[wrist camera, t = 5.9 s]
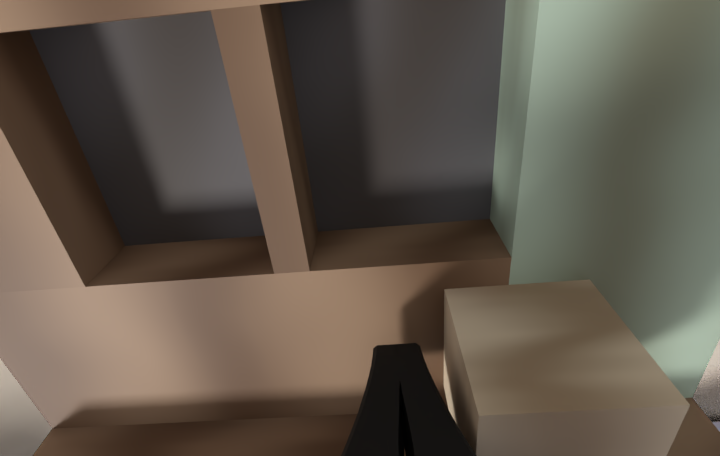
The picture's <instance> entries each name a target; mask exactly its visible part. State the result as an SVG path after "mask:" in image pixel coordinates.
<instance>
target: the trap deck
mask: <svg viewBox="0 0 720 456" xmlns="http://www.w3.org/2000/svg"><path fill="white" fill-rule="evenodd" d="M589 279H590V281H591V282H592V283H593V284H594V286H595V287H596V288H597V289H598V291H599V292H600V293H601V294H602V296H603V297H604V298H605V299H606V301H607V302H608V303H609V304H610V306H611V307H612V308H613V309H614V311H615V312H616V313H617V314H618V316H619V317H620V318H621V319H622V321H623V322H624V323H625V324H626V326H627V327H628V328H629V329H630V331H631V332H632V333H633V334H634V336H635V337H636V338H637V339H638V341H639V342H640V343H641V344H642V346H643V347H644V348H645V349H646V351H647V352H648V353H649V354H650V356H651V357H652V358H653V359H654V361H655V362H656V363H657V364H658V366H659V367H660V368H661V369H662V371H663V372H664V373H665V374H666V376H667V377H668V378H669V379H670V381H671V382H672V383H673V384H674V386H675V387H676V388H677V389H678V391H679V392H680V393H681V394H682V396H683V397H684V398H685V399H686V401H687V402H688V403H689V404H690V406H689V409H688V411H687V413H686V415H685V417H684V419H683V421H682V424H681V426H680V428H679V430H678V432H677V434H676V437H675V439H674V441H673V443H672V445H671V447H670V449H669V452H668V454H667V456H720V431H719V430H718V429H717V428H716V427H715V425H714V424H713V423H712V422H711V420H710V419H709V418H708V417H707V416H706V414H705V413H704V412H703V411H702V409H701V408H700V407H699V406H698V404H697V403H696V402H695V401H694V400H693V398H692V397H693V395H694V392H695V390H696V388H697V386H698V384H699V382H700V380H701V377H702V375H703V373H704V371H705V369H706V367H707V365H708V362H709V360H710V358H711V356H712V354H713V352H714V350H715V347H716V345H717V343H718V341H719V339H720V0H0V358H1V360H2V361H3V363H4V364H5V365H6V367H7V368H8V369H9V371H10V372H11V373H12V375H13V376H14V377H15V379H16V380H17V381H18V383H19V384H20V385H21V387H22V388H23V389H24V391H25V392H26V394H27V395H28V396H29V398H30V399H31V400H32V402H33V403H34V404H35V406H36V407H37V408H38V410H39V411H40V412H41V414H42V415H43V416H44V418H45V419H46V420H47V422H48V423H49V425H50V426H51V427H52V430H51V431H50V433H49V434H48V435H47V437H46V438H45V440H44V441H43V442H42V444H41V445H40V446H39V448H38V449H37V451H36V452H35V453H34V455H33V456H341V454H342V452H343V450H344V447H345V445H346V443H347V440H348V437H349V435H350V432H351V430H352V427H353V424H354V422H355V419H356V416H357V414H358V411H359V408H360V404H361V401H362V398H363V395H364V392H365V388H366V385H367V381H368V377H369V373H370V368H371V363H372V357H373V348H374V347H375V346H377V345H390V344H407V343H417V344H418V345H420V347H421V351H422V354H423V357H424V360H425V362H426V365H427V367H428V370H429V372H430V374H431V376H432V379H433V381H434V383H435V385H436V387H437V389H438V391H439V393H440V395H441V397H442V399H443V401H444V402H445V404H446V406H447V408H448V405H447V400H446V395H445V390H444V289H455V288H470V287H485V286H500V285H514V284H529V283H544V282H559V281H574V280H589ZM404 456H406V454H405V448H404Z"/></svg>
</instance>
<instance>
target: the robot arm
mask: <svg viewBox="0 0 720 456" xmlns="http://www.w3.org/2000/svg"><path fill="white" fill-rule="evenodd" d="M712 423H713V424H714V425H715V427H716V428H717V429H718V430H719V431H720V421H717V422H712ZM404 448H405V454H406V456H477V455H476V454H475V452H474V451H473V449H472V448H471V446H470V445H469V443H468V442H467V440H466V439H465V437H464V435H463V434H462V432H461V430H460V429H459V427H458V425H457V424H456V422H455V420H454V419H453V417H452V415H451V413H450V412H449V410H448V408H447V406H446V404H445V402H444V401H443V399H442V397H441V395H440V393H439V391H438V389H437V387H436V385H435V383H434V381H433V379H432V376H431V374H430V372H429V370H428V367H427V365H426V362H425V360H424V357H423V354H422V351H421V347H420V345H418V344H417V343H407V344H390V345H377V346H375V347H374V348H373V357H372V363H371V368H370V373H369V377H368V381H367V385H366V388H365V392H364V395H363V398H362V401H361V404H360V408H359V411H358V414H357V416H356V419H355V422H354V424H353V427H352V430H351V432H350V435H349V437H348V440H347V443H346V445H345V447H344V450H343V452H342V454H341V456H404Z"/></svg>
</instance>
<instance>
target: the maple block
mask: <svg viewBox="0 0 720 456" xmlns="http://www.w3.org/2000/svg"><path fill="white" fill-rule="evenodd" d="M444 390H445V395H446V400H447V405H448V410H449V412H450V413H451V415H452V417H453V419H454V420H455V422H456V424H457V425H458V427H459V429H460V430H461V432H462V434H463V435H464V437H465V439H466V440H467V442H468V443H469V445H470V446H471V448H472V449H473V451H474V452H475V454H476V455H477V456H667V454H668V452H669V449H670V447H671V445H672V443H673V441H674V439H675V437H676V434H677V432H678V430H679V428H680V426H681V424H682V421H683V419H684V417H685V415H686V413H687V411H688V409H689V406H690V404H689V403H688V402H687V401H686V399H685V398H684V397H683V396H682V394H681V393H680V392H679V391H678V389H677V388H676V387H675V386H674V384H673V383H672V382H671V381H670V379H669V378H668V377H667V376H666V374H665V373H664V372H663V371H662V369H661V368H660V367H659V366H658V364H657V363H656V362H655V361H654V359H653V358H652V357H651V356H650V354H649V353H648V352H647V351H646V349H645V348H644V347H643V346H642V344H641V343H640V342H639V341H638V339H637V338H636V337H635V336H634V334H633V333H632V332H631V331H630V329H629V328H628V327H627V326H626V324H625V323H624V322H623V321H622V319H621V318H620V317H619V316H618V314H617V313H616V312H615V311H614V309H613V308H612V307H611V306H610V304H609V303H608V302H607V301H606V299H605V298H604V297H603V296H602V294H601V293H600V292H599V291H598V289H597V288H596V287H595V286H594V284H593V283H592V282H591V281H590V279H589V280H574V281H559V282H544V283H529V284H514V285H500V286H485V287H470V288H455V289H444Z"/></svg>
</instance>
